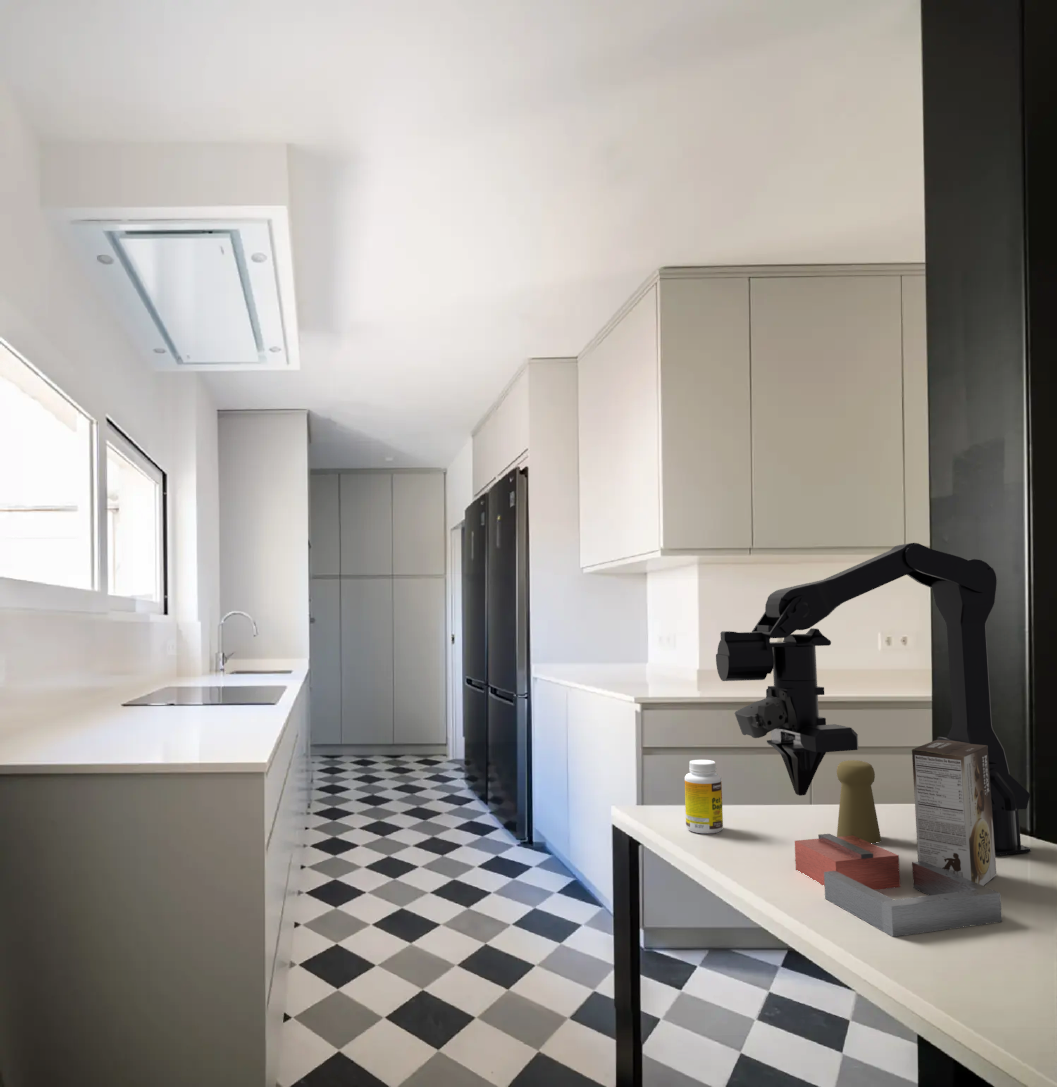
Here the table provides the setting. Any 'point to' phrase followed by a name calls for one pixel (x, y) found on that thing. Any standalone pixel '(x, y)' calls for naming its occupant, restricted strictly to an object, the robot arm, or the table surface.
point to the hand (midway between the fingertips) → (800, 794)
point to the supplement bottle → (703, 798)
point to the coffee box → (954, 808)
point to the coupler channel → (918, 902)
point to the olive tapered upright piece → (857, 801)
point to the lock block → (848, 860)
